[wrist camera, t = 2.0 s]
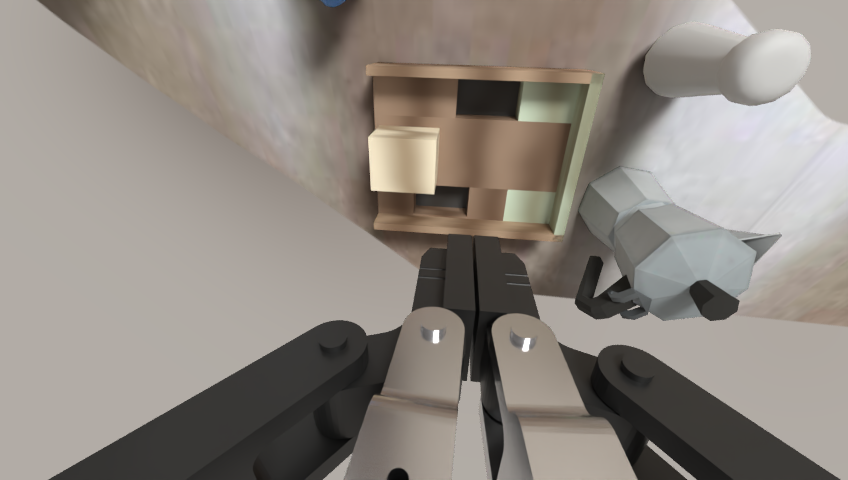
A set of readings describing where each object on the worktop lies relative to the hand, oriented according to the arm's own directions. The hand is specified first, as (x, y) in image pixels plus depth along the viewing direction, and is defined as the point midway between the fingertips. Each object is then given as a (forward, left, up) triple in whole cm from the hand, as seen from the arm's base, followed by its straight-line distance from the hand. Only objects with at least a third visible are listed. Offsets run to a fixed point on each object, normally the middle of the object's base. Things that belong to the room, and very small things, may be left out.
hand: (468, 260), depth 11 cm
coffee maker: (+17, -10, -29) cm, 35 cm away
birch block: (-5, -4, -26) cm, 27 cm away
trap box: (+1, -4, -29) cm, 29 cm away
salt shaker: (+18, +5, -29) cm, 35 cm away
